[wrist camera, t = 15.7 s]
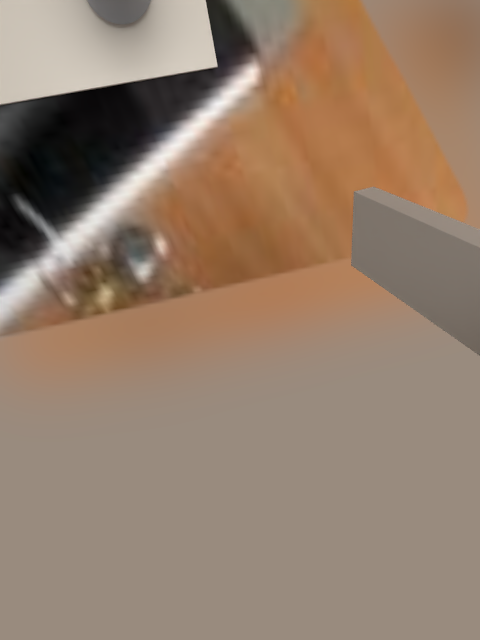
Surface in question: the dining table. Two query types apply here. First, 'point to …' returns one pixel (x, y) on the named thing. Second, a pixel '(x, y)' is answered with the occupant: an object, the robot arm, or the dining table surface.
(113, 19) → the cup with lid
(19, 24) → the sheet
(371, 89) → the dining table surface
